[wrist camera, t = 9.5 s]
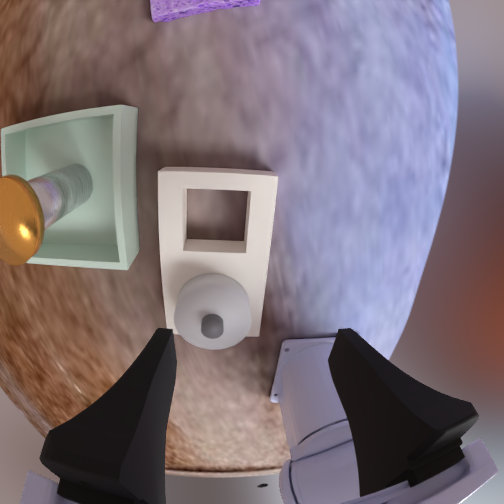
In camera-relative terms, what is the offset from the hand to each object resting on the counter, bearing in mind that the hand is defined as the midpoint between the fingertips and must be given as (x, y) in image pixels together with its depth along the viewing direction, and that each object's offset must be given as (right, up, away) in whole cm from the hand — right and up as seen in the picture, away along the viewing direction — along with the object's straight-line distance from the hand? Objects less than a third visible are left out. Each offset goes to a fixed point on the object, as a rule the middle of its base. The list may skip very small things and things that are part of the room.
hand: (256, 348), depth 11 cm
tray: (-13, +9, +5) cm, 16 cm away
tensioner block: (-3, +4, +8) cm, 10 cm away
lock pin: (-12, +9, +5) cm, 16 cm away
